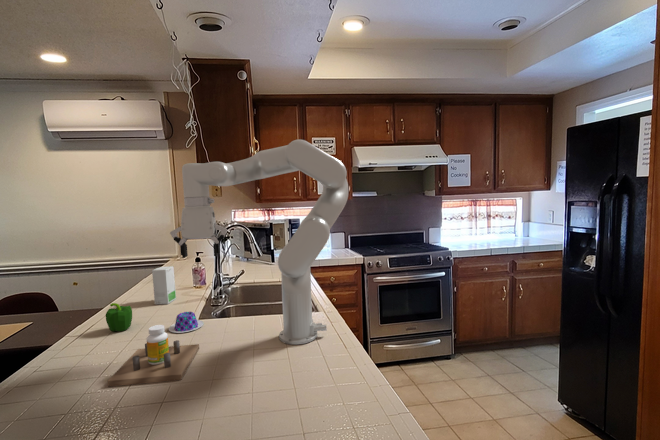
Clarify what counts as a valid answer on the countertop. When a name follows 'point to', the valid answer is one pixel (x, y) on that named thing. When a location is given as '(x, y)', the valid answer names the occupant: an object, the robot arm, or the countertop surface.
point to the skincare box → (164, 285)
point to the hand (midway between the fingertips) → (200, 256)
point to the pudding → (186, 323)
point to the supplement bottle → (157, 344)
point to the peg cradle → (155, 366)
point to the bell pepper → (119, 317)
